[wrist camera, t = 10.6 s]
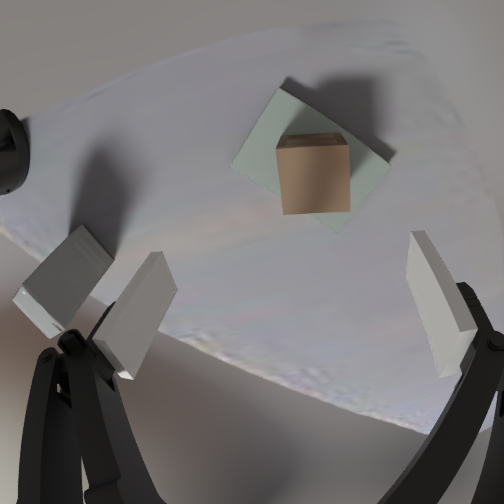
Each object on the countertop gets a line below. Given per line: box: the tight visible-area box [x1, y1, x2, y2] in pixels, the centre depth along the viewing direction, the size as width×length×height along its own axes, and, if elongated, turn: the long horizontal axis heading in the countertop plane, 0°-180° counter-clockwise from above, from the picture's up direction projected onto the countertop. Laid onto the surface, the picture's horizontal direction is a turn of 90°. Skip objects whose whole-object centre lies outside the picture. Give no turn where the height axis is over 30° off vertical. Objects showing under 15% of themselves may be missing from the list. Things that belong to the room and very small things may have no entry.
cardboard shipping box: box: [275, 133, 350, 215], centre depth 27 cm, size 6×6×6 cm
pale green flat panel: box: [230, 88, 392, 233], centre depth 28 cm, size 14×10×6 cm
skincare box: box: [12, 224, 114, 339], centre depth 37 cm, size 8×7×16 cm
